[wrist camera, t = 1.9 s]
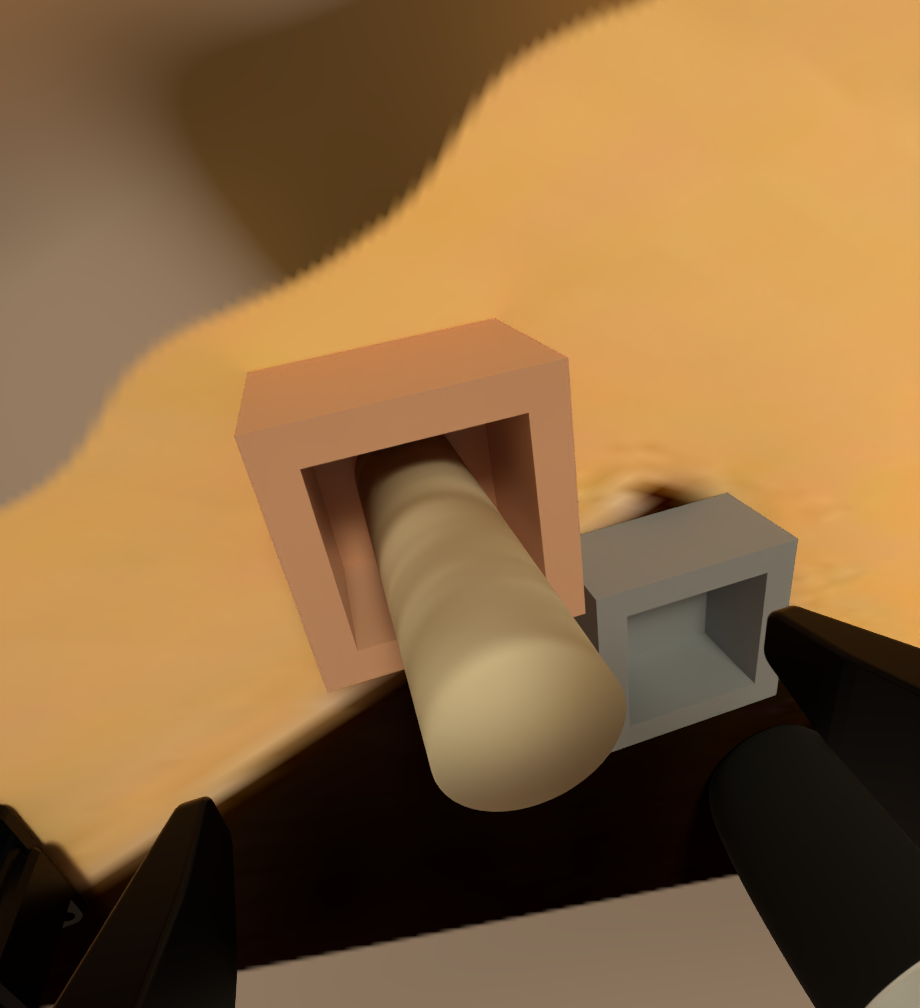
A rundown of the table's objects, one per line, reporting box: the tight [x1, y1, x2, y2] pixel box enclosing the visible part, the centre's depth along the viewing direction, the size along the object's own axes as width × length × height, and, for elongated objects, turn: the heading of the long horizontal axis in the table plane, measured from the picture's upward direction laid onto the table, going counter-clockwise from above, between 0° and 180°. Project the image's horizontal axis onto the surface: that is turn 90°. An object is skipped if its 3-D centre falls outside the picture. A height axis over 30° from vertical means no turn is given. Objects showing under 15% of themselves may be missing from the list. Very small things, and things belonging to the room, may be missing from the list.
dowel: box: [355, 434, 626, 812], centre depth 13 cm, size 3×3×10 cm
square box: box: [234, 318, 586, 693], centre depth 16 cm, size 7×7×5 cm
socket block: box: [574, 493, 798, 752], centre depth 22 cm, size 7×7×4 cm
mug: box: [709, 725, 920, 1008], centre depth 26 cm, size 12×9×10 cm
